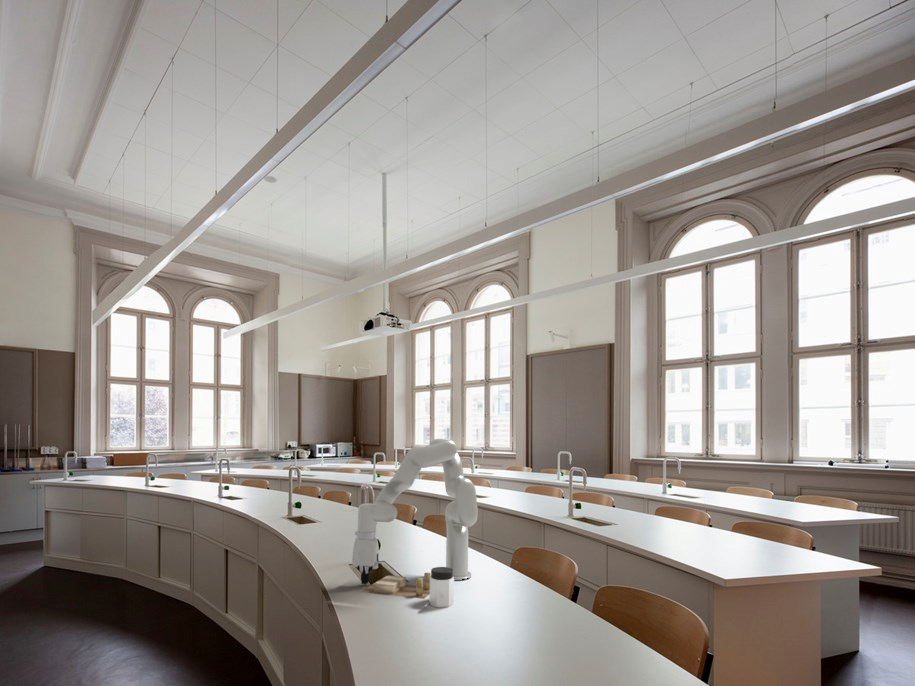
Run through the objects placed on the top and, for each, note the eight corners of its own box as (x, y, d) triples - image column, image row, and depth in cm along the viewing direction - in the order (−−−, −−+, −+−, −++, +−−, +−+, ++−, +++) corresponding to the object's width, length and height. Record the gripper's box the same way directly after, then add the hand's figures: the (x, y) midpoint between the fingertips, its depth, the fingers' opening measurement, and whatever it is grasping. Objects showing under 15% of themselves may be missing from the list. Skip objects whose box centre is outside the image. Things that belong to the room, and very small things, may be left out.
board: (377, 583, 225) (378, 565, 226) (436, 590, 217) (437, 572, 218) (361, 593, 212) (361, 574, 213) (423, 601, 204) (424, 581, 205)
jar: (430, 608, 197) (431, 572, 199) (428, 600, 205) (429, 567, 207) (455, 607, 198) (455, 572, 200) (452, 600, 206) (452, 566, 208)
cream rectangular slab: (387, 583, 223) (387, 575, 223) (405, 585, 220) (405, 577, 221) (374, 591, 211) (374, 583, 212) (392, 593, 209) (393, 585, 209)
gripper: (345, 535, 221) (343, 583, 218) (379, 538, 216) (377, 587, 214) (354, 532, 228) (353, 578, 225) (387, 535, 223) (386, 582, 221)
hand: (365, 583), depth 219 cm, fingers closed
